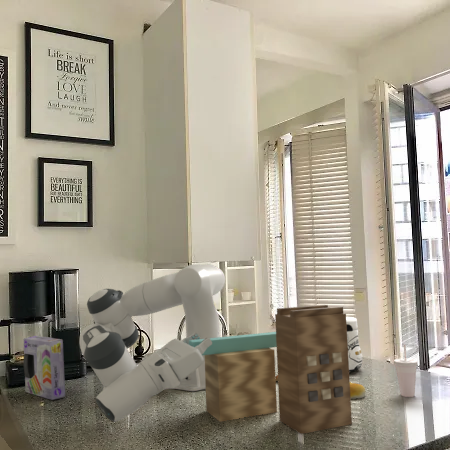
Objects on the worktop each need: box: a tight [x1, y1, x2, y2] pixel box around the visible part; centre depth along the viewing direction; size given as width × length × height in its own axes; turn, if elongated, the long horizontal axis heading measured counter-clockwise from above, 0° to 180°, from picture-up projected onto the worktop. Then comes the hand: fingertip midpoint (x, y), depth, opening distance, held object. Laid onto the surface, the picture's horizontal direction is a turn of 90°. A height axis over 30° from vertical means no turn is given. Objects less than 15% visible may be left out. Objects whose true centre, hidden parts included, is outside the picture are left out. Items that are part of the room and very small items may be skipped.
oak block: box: [205, 348, 278, 423], centre depth 126 cm, size 16×10×16 cm, turn 112°
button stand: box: [274, 304, 353, 435], centre depth 115 cm, size 14×11×28 cm
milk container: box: [346, 316, 363, 373], centre depth 168 cm, size 17×17×18 cm
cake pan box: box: [23, 335, 66, 401], centre depth 149 cm, size 19×5×18 cm, turn 47°
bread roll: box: [350, 381, 367, 400], centre depth 137 cm, size 8×9×4 cm
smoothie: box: [393, 344, 418, 398], centre depth 135 cm, size 6×6×14 cm
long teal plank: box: [189, 331, 277, 355], centre depth 126 cm, size 26×4×4 cm, turn 112°
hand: (203, 337), depth 123 cm, fingers open, 8 cm apart
